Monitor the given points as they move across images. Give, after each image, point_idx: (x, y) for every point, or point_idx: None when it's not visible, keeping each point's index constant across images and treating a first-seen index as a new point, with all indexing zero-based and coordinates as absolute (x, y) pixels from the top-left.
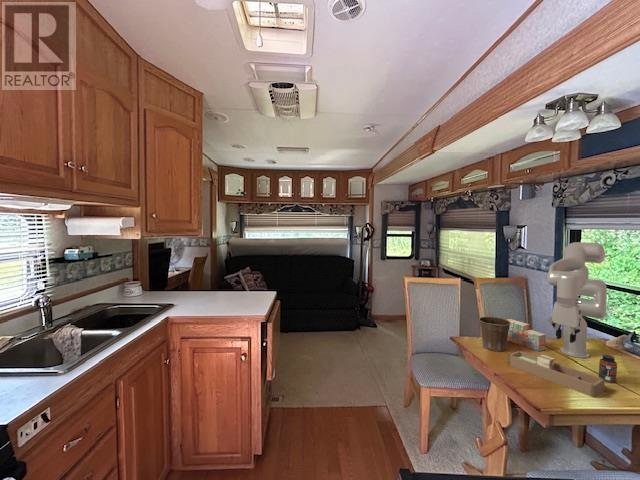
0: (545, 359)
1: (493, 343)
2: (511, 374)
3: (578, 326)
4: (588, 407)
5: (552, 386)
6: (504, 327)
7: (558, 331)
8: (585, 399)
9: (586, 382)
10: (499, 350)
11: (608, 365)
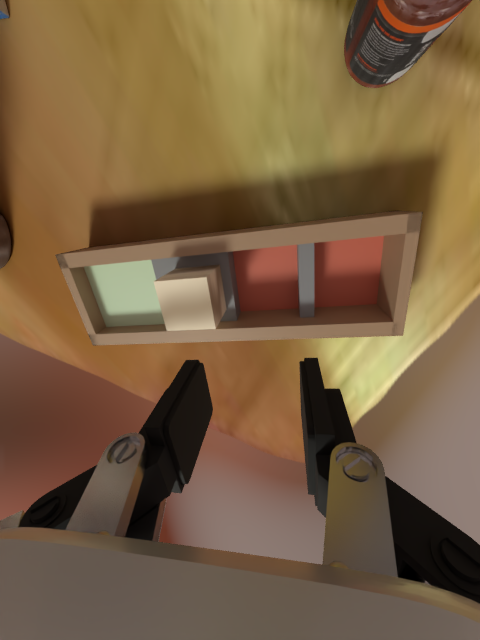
0: (198, 327)
1: None
2: (173, 378)
3: (459, 606)
4: (387, 387)
5: (272, 351)
6: None
7: (184, 481)
8: (367, 349)
9: (371, 330)
10: (8, 249)
11: (449, 18)
